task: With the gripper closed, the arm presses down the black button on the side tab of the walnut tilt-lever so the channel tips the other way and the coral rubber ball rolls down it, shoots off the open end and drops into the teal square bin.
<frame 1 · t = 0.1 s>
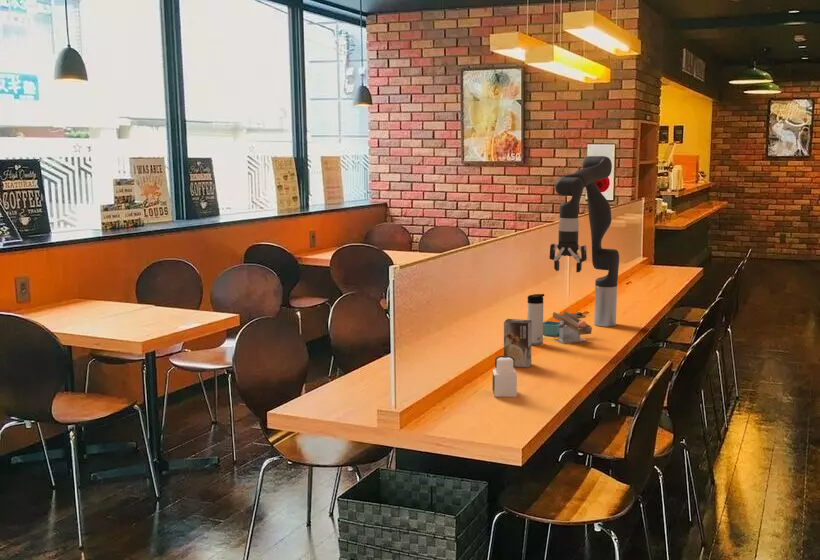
hand: (567, 271, 331), 29 cm above the table, tool pointing down, fingers open, 8 cm apart
travel mug: (535, 344, 338), on the table
lever: (579, 322, 342), point 8 cm above the table, hinge at -9.0°, touching ball
ball: (582, 324, 334), point 8 cm above the table, tilted 46°, touching lever
fulcrum: (570, 341, 343), on the table
teal square bin: (551, 334, 355), on the table
medicine bottle: (504, 394, 271), on the table
coffee box: (517, 365, 306), on the table
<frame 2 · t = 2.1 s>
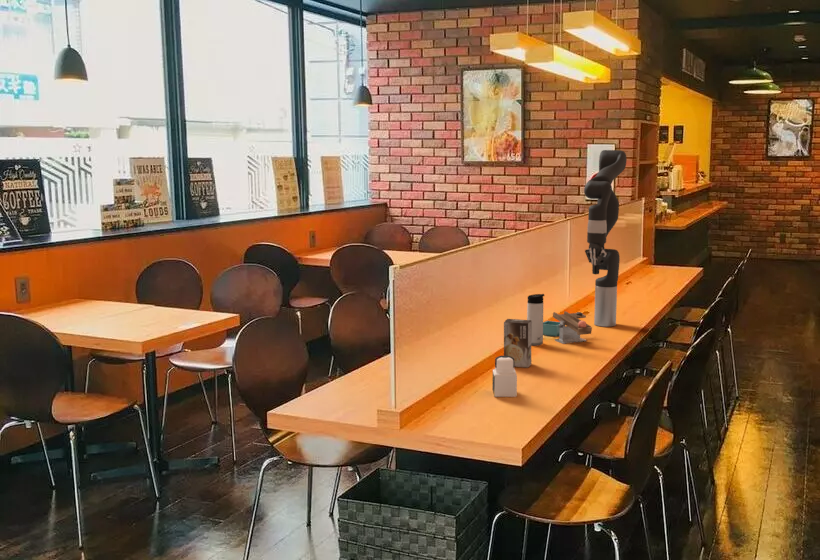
hand: (595, 274, 345), 26 cm above the table, tool pointing down, fingers closed
nothing on the table moved.
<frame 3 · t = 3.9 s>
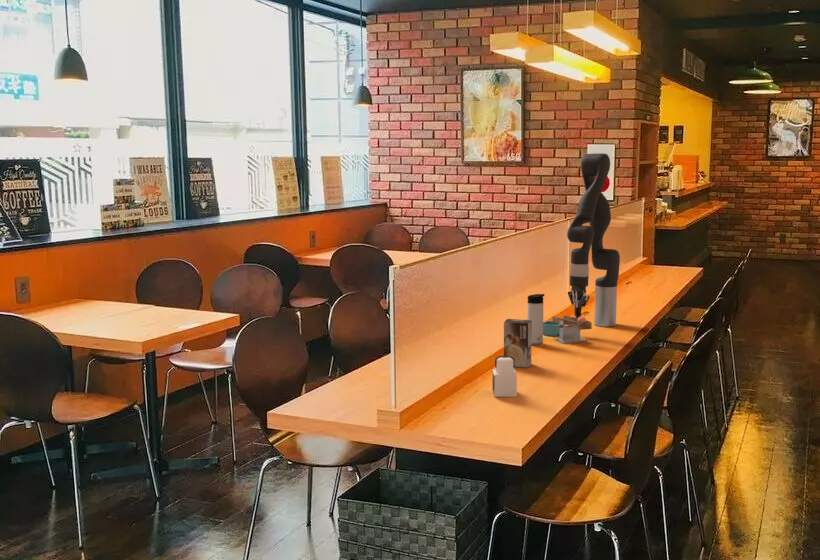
hand: (577, 316, 351), 8 cm above the table, tool pointing down, fingers closed
lever: (579, 321, 342), point 8 cm above the table, hinge at 2.7°, touching ball, gripper
ball: (581, 320, 334), point 10 cm above the table, tilted 33°, touching lever
everything else where it was.
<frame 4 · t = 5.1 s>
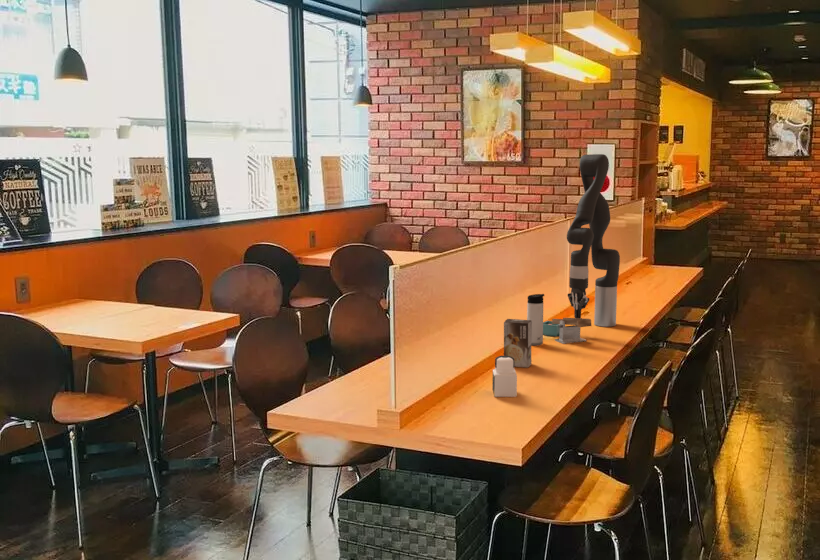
hand: (577, 318, 351), 7 cm above the table, tool pointing down, fingers closed
lever: (579, 321, 343), point 8 cm above the table, hinge at 9.1°, touching gripper
ball: (549, 327, 357), point 2 cm above the table, tilted 115°, touching teal square bin
everything else where it was.
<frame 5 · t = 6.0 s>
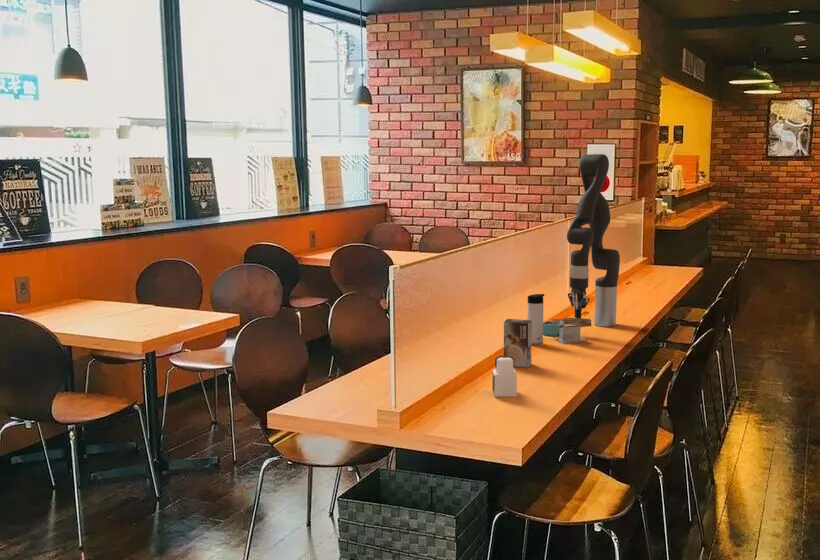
hand: (577, 317, 351), 7 cm above the table, tool pointing down, fingers closed
lever: (579, 321, 343), point 8 cm above the table, hinge at 9.1°
ball: (549, 328, 357), point 2 cm above the table, tilted 103°, touching teal square bin
everything else where it was.
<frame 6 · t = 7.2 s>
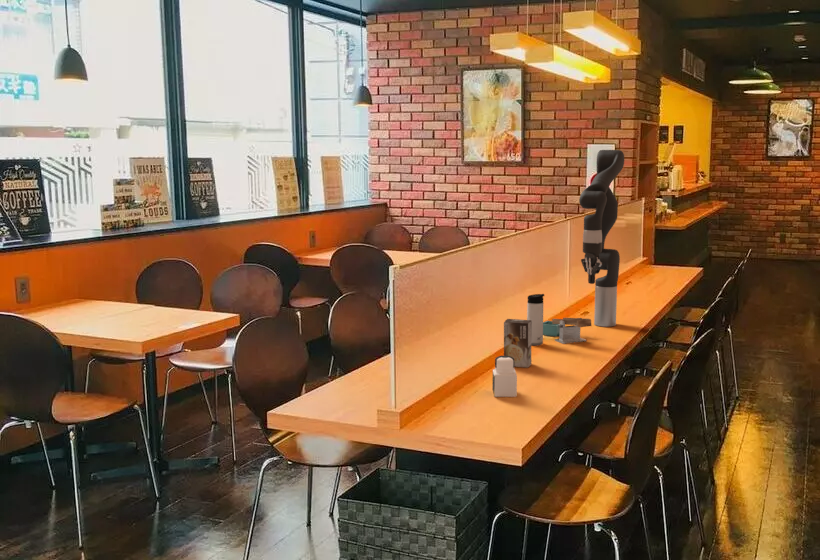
hand: (591, 283, 347), 22 cm above the table, tool pointing down, fingers closed
ball: (548, 328, 356), point 2 cm above the table, tilted 84°, touching teal square bin
everything else where it was.
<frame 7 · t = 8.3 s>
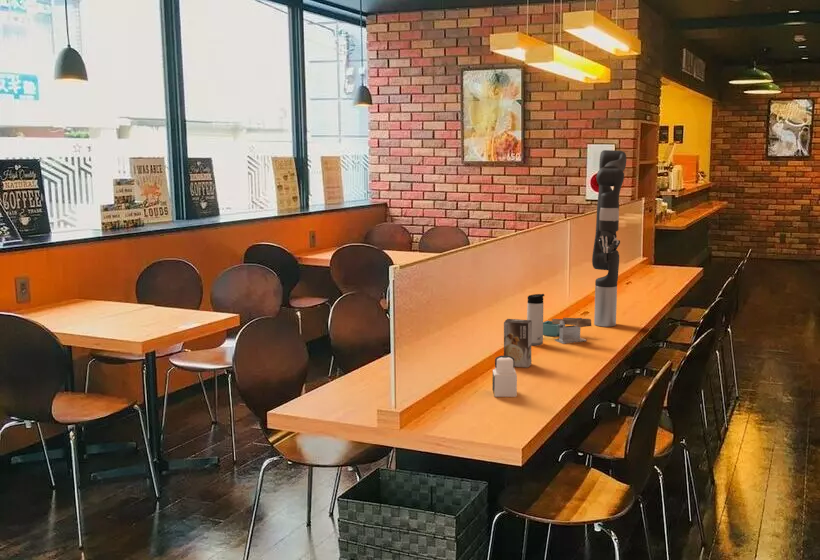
hand: (607, 262, 343), 31 cm above the table, tool pointing down, fingers closed
ball: (547, 328, 355), point 2 cm above the table, tilted 67°, touching teal square bin
everything else where it was.
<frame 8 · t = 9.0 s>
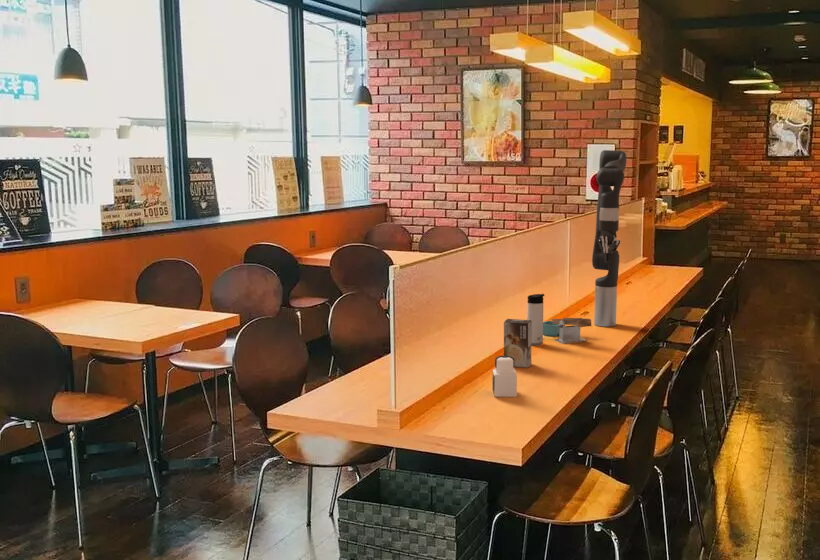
hand: (607, 262, 343), 31 cm above the table, tool pointing down, fingers closed
ball: (547, 328, 355), point 2 cm above the table, tilted 59°, touching teal square bin
everything else where it was.
at the end: ball inside the target area on the teal square bin (2.1 cm from its centre), point 2.2 cm above the teal square bin's base; ball touching teal square bin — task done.
